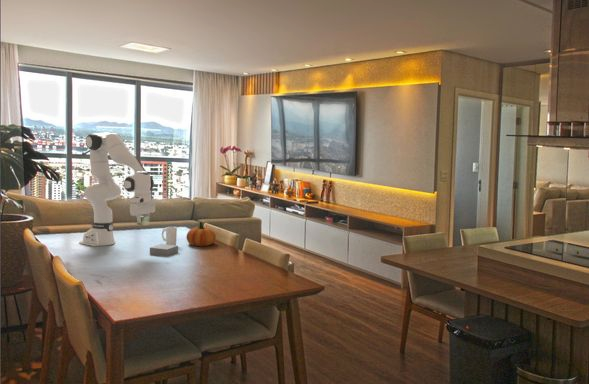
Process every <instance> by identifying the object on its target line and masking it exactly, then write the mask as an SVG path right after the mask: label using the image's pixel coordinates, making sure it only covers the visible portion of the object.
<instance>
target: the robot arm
mask: <svg viewBox="0 0 589 384" xmlns="http://www.w3.org/2000/svg"><path fill="white" fill-rule="evenodd" d="M85 144H86V147H87V149H88V150H89V162H90V172H91V176H92V177H93V178H95V179H96V180H97V182H98V183H97V184H95V183H94V184H91V185H88V186H87V187H86V188H85V189H84V197H85V198H86V199H85V200H87V201H88V202H89V203H90V204H91V206H92V209H93V222H92V223H90V226H91V228H90V229H89V230H87V231H86V232H85V233H84V234H83V236H82V238H83V239H82V240H80V241H79V242H78V244H80V245H81V244H82V245H87V246H92V247H99V246H111V245H114V244H115V243H116V241H115V237H114V221H113V209H112V208H111V207H109V206H108V204H107V201H112V200H116V199H118V198H119V197H120V196H121V193H122V189H121V186H120V185H119V184H117V183H116V182H115V181H114V178H113V177H112V175H111V171H110V170H111V168H110V164H109V157H110V159H111V160H112V161H113V162H114V163H116V164H119V165H124V166H126V167H129V168H131V169H132V170H133V172H134V174H132V175H130V176H126V177H125V179H124V180H123V187H124V189H125V191H126V192H127V193H128V192H130V193H134V196H132V197H131V198H129V203H130V204H129V215H130V217H131V216H133V217H136V220H137V219H138V223H141V222H142V219H141V218H140V217H141V216H149V217H150V215H151V214H153V213H155V212H156V203H155V199H154V197H152V194H151V193H152V192H151V191H152V189H153V188H154V185H155V181H154V179H153V178H152V176H151V174H150V173H149V172H148V171H146V169H145V168H144V166H143V165H142V163H141V162H140V160H139V159H138V158H137V157H136V156H135V155H134V154H133V153H132V152H131V151H130V150H129V149H128V148H127V146H126V144H125V142H124V140H123V138H122V137H121V136H120V134H119V133H115V132H99V133H96V132H94V133H90V134H88V135H87V136H86V138H85ZM108 155H109V156H108Z"/></svg>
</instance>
